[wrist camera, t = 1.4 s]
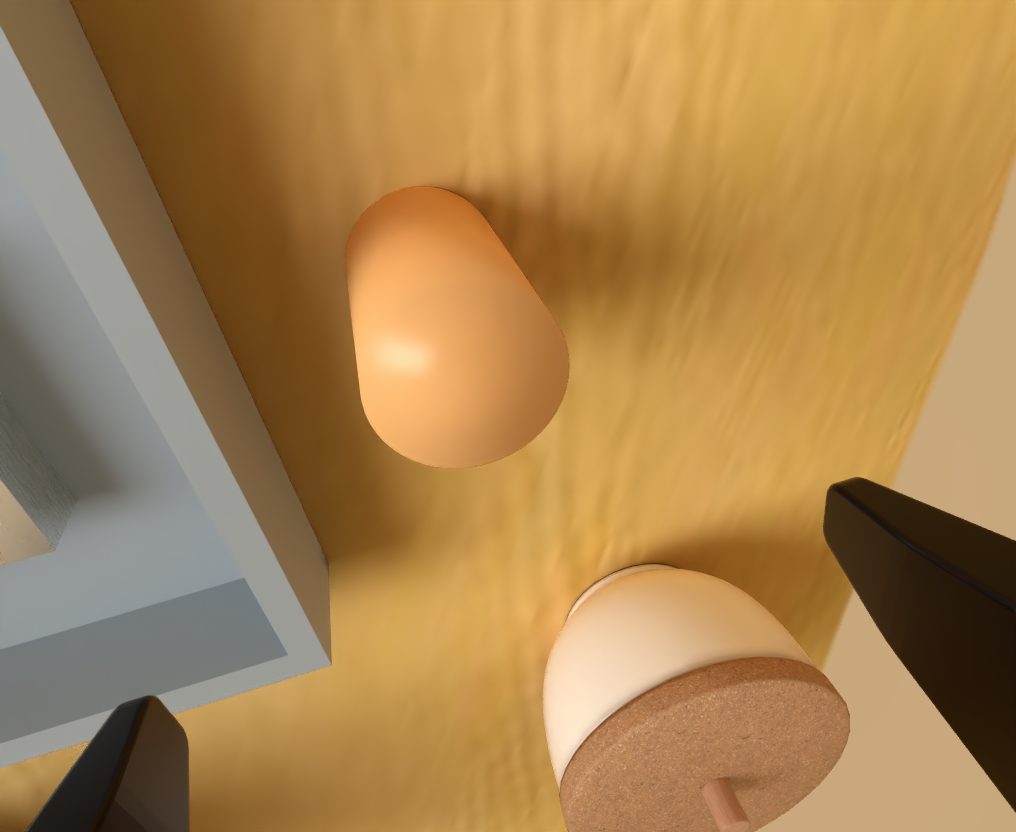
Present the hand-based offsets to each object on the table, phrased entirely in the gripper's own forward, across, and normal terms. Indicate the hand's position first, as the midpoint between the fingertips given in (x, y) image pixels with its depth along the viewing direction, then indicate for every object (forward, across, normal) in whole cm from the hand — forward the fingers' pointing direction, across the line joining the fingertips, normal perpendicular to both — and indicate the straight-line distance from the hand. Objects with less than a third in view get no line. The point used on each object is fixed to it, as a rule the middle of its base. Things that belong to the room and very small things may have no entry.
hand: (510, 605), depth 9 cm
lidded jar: (+14, -5, +19) cm, 24 cm away
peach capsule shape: (+13, 0, 0) cm, 13 cm away
